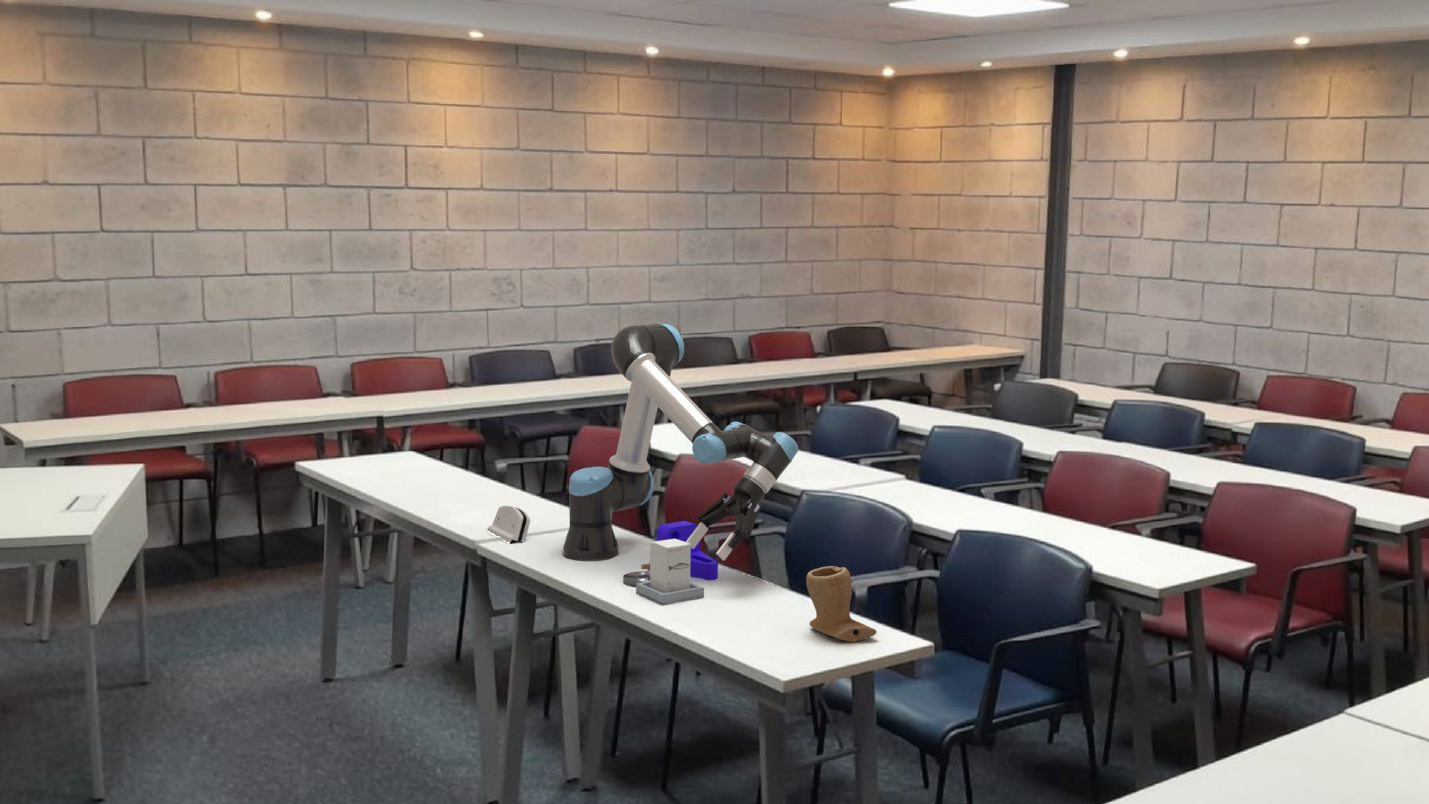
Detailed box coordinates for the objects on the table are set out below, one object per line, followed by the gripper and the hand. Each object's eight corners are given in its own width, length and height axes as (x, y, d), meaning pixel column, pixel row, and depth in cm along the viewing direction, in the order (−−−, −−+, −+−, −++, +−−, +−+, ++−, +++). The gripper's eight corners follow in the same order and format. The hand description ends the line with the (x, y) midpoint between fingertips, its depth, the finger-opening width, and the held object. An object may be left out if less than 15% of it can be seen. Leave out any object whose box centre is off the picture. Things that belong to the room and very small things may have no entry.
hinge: (485, 532, 378) (495, 500, 379) (499, 536, 381) (509, 503, 381) (509, 544, 364) (519, 510, 365) (523, 548, 367) (534, 514, 368)
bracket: (656, 569, 340) (656, 525, 339) (689, 562, 347) (689, 520, 345) (698, 583, 326) (698, 538, 325) (731, 577, 333) (732, 532, 331)
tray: (636, 593, 316) (636, 583, 316) (676, 586, 323) (676, 576, 323) (662, 605, 306) (662, 595, 306) (704, 597, 313) (704, 587, 313)
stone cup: (795, 628, 289) (796, 563, 287) (840, 622, 295) (841, 558, 293) (831, 648, 276) (833, 580, 274) (877, 640, 281) (879, 574, 280)
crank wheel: (615, 580, 328) (616, 559, 327) (649, 574, 334) (649, 554, 333) (636, 589, 320) (636, 567, 319) (670, 583, 325) (670, 562, 325)
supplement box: (665, 598, 310) (666, 547, 308) (649, 591, 316) (649, 541, 314) (691, 594, 314) (691, 543, 312) (674, 587, 320) (674, 537, 318)
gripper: (792, 503, 317) (742, 571, 311) (734, 486, 338) (685, 550, 331) (775, 484, 314) (724, 552, 307) (717, 468, 334) (668, 532, 328)
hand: (704, 551), depth 319 cm, fingers open, 13 cm apart
